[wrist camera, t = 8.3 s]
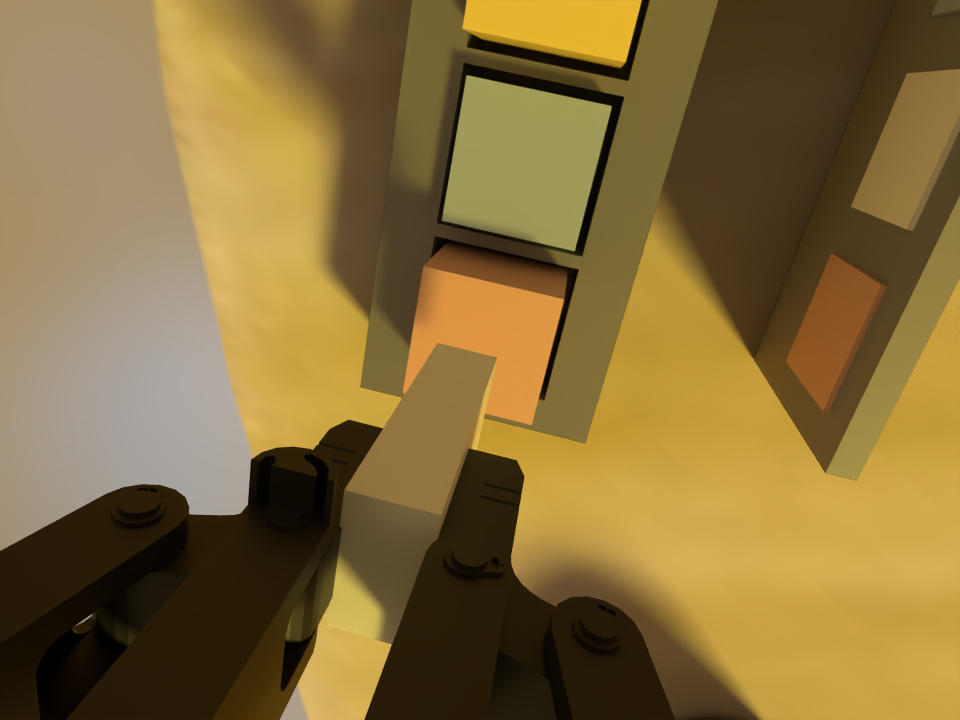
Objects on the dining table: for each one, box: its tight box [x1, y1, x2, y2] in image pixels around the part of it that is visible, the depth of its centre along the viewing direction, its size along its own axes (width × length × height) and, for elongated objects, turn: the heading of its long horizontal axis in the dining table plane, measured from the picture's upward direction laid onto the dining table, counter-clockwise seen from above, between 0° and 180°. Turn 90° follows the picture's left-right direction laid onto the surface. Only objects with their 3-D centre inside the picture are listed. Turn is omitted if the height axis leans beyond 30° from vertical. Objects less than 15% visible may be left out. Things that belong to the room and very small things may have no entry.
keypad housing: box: [360, 0, 718, 443], centre depth 20 cm, size 22×8×4 cm, turn 169°
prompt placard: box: [754, 0, 960, 481], centre depth 17 cm, size 16×1×8 cm, turn 169°
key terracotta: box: [403, 241, 568, 425], centre depth 20 cm, size 4×4×4 cm
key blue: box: [442, 75, 612, 251], centre depth 20 cm, size 4×4×4 cm
